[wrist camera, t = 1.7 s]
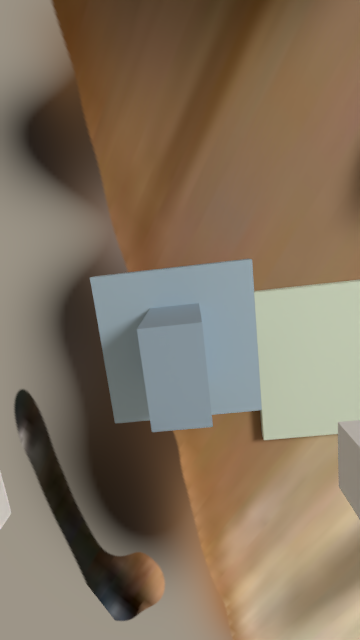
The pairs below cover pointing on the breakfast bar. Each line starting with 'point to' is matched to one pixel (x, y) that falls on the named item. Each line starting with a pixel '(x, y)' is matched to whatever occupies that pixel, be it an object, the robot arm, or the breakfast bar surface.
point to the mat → (308, 358)
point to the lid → (179, 343)
